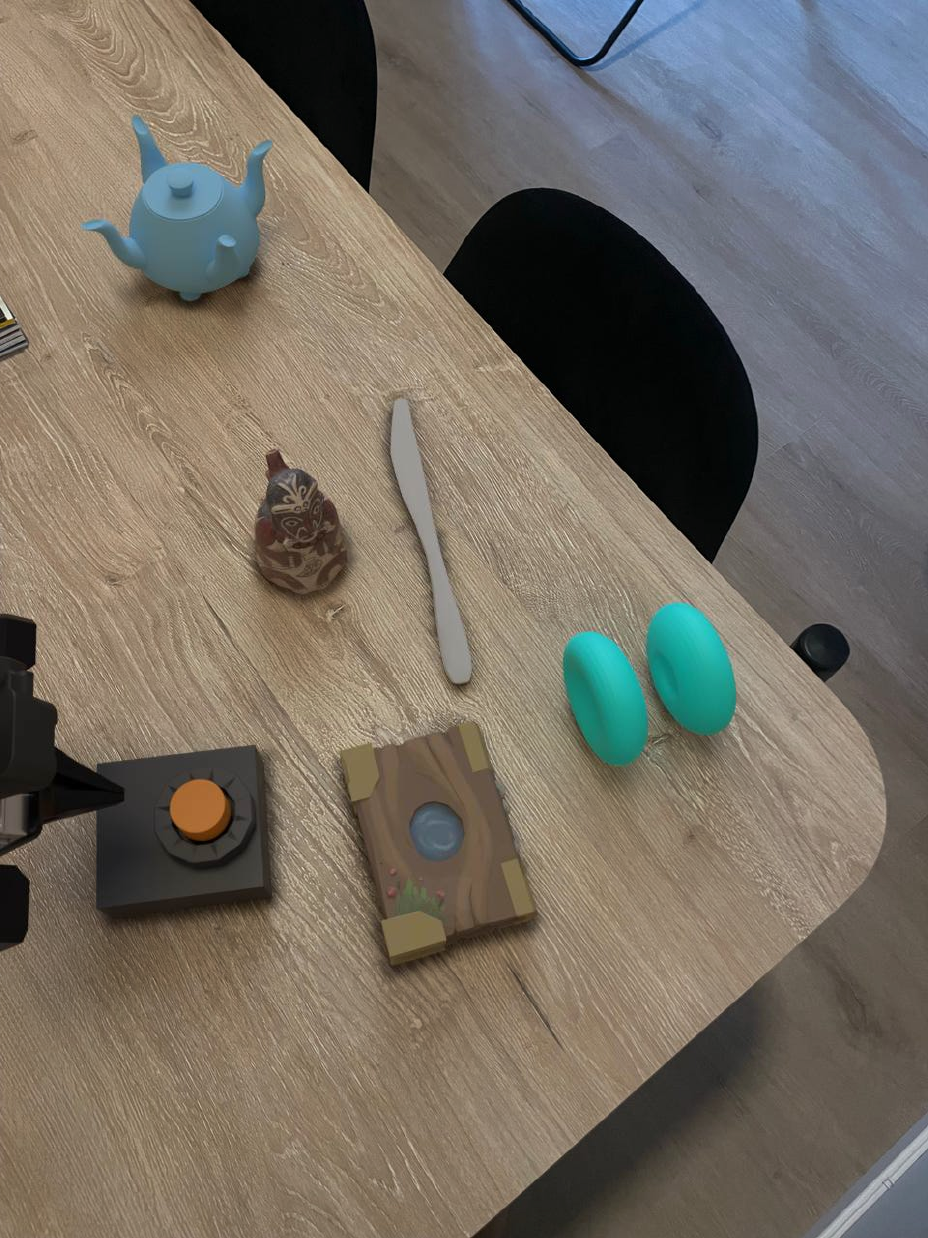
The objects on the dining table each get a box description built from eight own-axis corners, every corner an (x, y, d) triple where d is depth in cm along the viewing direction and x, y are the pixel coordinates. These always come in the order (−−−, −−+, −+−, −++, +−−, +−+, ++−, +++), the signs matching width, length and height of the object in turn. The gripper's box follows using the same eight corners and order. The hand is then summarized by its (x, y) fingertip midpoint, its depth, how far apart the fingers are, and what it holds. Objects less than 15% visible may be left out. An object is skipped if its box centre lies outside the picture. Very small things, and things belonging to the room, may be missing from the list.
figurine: (272, 605, 85) (250, 530, 74) (246, 531, 88) (221, 448, 77) (358, 577, 86) (349, 499, 75) (330, 505, 89) (317, 420, 78)
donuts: (550, 670, 84) (565, 616, 74) (667, 631, 85) (695, 574, 76) (600, 788, 80) (623, 746, 71) (721, 745, 81) (758, 699, 72)
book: (341, 768, 80) (336, 747, 75) (483, 730, 81) (486, 707, 77) (391, 966, 74) (389, 957, 69) (543, 921, 76) (551, 909, 71)
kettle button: (177, 844, 71) (170, 836, 69) (176, 792, 73) (168, 782, 71) (232, 837, 72) (226, 829, 70) (229, 785, 73) (224, 775, 71)
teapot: (288, 226, 102) (275, 137, 92) (248, 334, 96) (230, 251, 87) (157, 201, 102) (131, 111, 93) (110, 307, 97) (77, 222, 88)
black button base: (112, 919, 75) (88, 904, 69) (112, 780, 79) (89, 755, 73) (272, 898, 76) (260, 881, 70) (263, 762, 80) (251, 736, 74)
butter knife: (437, 686, 82) (475, 678, 82) (380, 401, 93) (413, 395, 93) (437, 689, 82) (475, 681, 83) (380, 405, 94) (414, 399, 94)
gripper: (-97, 916, 47) (204, 923, 58) (-69, 542, 54) (192, 612, 66) (-194, 964, 53) (94, 962, 64) (-157, 624, 61) (95, 674, 72)
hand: (121, 796), depth 66 cm, fingers closed
